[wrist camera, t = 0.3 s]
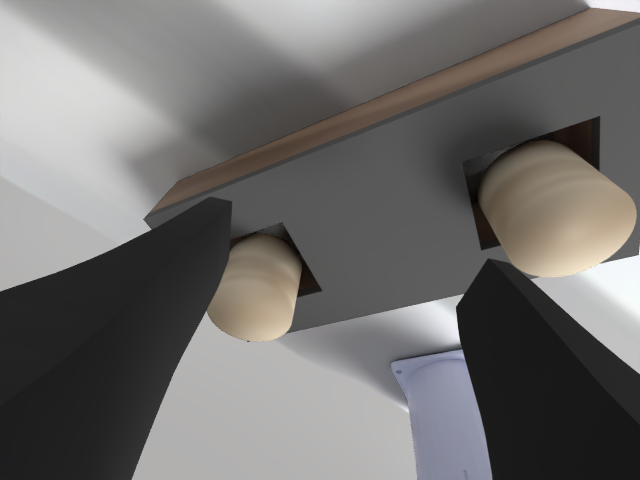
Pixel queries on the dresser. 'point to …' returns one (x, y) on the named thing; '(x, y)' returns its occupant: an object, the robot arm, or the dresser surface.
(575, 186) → the peg
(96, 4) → the dresser surface
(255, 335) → the peg
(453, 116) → the block
